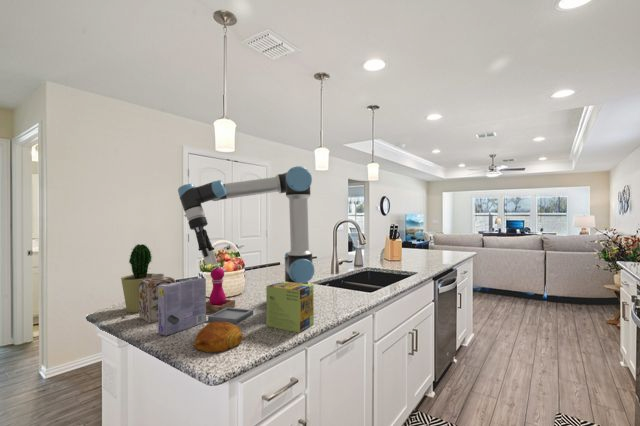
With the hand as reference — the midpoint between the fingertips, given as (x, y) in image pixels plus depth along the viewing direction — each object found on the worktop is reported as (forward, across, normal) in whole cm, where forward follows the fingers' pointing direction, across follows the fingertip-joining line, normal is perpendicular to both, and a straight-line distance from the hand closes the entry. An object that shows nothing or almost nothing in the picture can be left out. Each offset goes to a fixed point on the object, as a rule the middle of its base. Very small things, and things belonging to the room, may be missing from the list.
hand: (212, 264), depth 143 cm
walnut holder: (+19, -9, -5) cm, 22 cm away
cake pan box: (+20, +13, -15) cm, 28 cm away
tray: (+24, +4, +1) cm, 24 cm away
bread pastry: (+28, +31, -2) cm, 42 cm away
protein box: (+34, +18, +22) cm, 44 cm away
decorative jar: (+13, -2, -27) cm, 30 cm away
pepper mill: (+19, -9, -5) cm, 22 cm away
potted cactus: (+7, -16, -38) cm, 42 cm away
